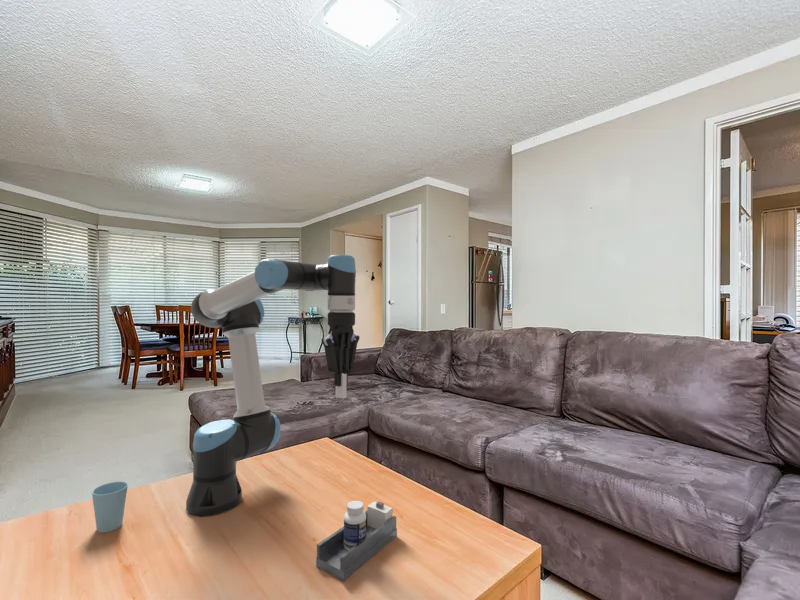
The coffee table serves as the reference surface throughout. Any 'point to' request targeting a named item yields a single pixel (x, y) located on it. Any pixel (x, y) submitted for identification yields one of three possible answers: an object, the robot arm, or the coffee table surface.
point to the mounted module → (378, 514)
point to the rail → (353, 549)
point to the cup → (109, 505)
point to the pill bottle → (354, 524)
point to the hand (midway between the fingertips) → (340, 397)
